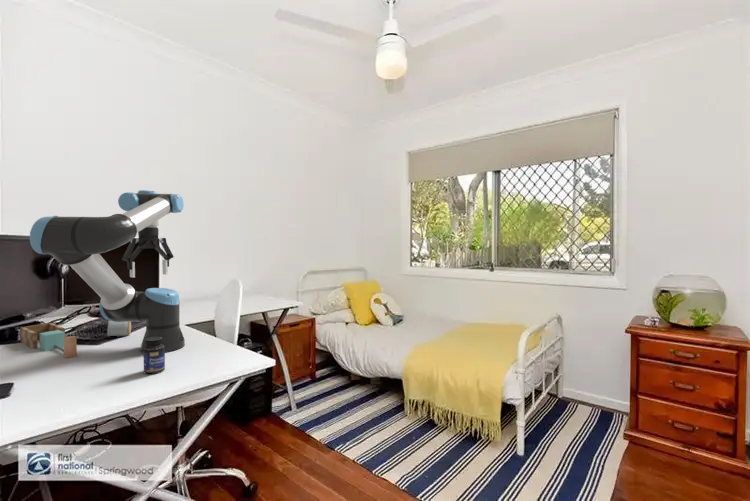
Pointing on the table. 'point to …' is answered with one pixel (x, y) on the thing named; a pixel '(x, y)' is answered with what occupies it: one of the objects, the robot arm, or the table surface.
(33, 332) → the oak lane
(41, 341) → the tethered block
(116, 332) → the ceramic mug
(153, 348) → the pill bottle
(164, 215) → the robot arm
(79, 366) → the table surface
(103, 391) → the table surface
